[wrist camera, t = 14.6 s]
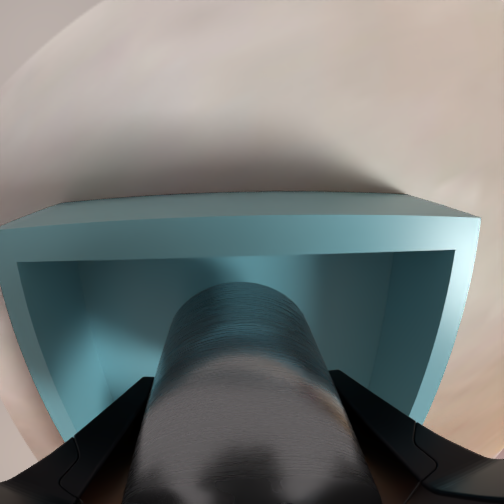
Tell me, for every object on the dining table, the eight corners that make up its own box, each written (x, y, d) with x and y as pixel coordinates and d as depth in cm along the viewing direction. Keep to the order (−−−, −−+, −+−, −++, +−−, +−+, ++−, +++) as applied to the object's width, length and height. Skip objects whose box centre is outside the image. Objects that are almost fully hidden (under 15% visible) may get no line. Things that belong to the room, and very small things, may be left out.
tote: (350, 461, 18) (370, 515, 13) (136, 469, 17) (124, 526, 12) (406, 194, 13) (481, 217, 8) (61, 202, 12) (-11, 230, 7)
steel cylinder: (304, 394, 12) (349, 549, 5) (178, 398, 11) (155, 559, 5) (314, 278, 10) (419, 447, 4) (159, 283, 10) (77, 464, 3)
